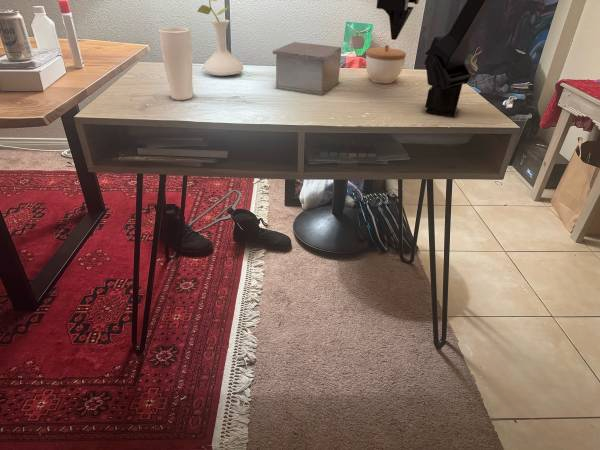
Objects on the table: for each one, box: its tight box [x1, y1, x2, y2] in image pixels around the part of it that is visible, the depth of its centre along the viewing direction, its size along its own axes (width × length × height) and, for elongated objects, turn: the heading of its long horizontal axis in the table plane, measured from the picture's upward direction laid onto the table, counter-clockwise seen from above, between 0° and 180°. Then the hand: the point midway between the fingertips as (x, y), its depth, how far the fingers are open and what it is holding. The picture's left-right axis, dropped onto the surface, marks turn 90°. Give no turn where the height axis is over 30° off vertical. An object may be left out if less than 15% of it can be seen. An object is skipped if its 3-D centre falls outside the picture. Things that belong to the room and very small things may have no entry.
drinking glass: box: [158, 26, 194, 101], centre depth 98 cm, size 7×7×15 cm
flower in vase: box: [196, 0, 245, 77], centre depth 115 cm, size 13×11×25 cm
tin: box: [275, 50, 342, 96], centre depth 113 cm, size 13×14×8 cm
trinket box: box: [365, 44, 407, 84], centre depth 119 cm, size 11×11×9 cm
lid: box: [272, 41, 342, 60], centre depth 110 cm, size 14×14×1 cm
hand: (393, 39), depth 104 cm, fingers closed
